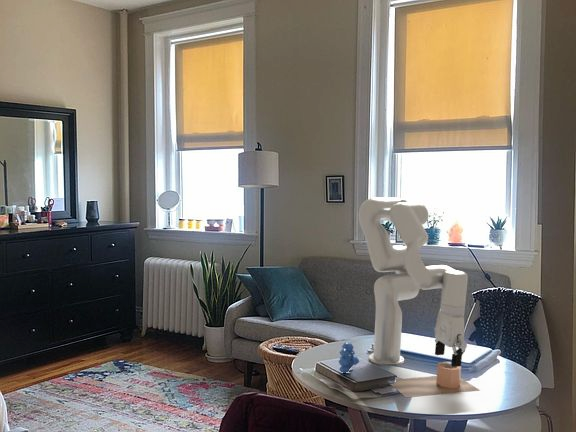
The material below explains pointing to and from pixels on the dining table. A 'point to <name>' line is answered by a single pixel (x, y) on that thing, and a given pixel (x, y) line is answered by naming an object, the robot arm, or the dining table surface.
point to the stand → (429, 386)
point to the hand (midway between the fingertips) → (447, 360)
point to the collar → (448, 376)
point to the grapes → (347, 358)
